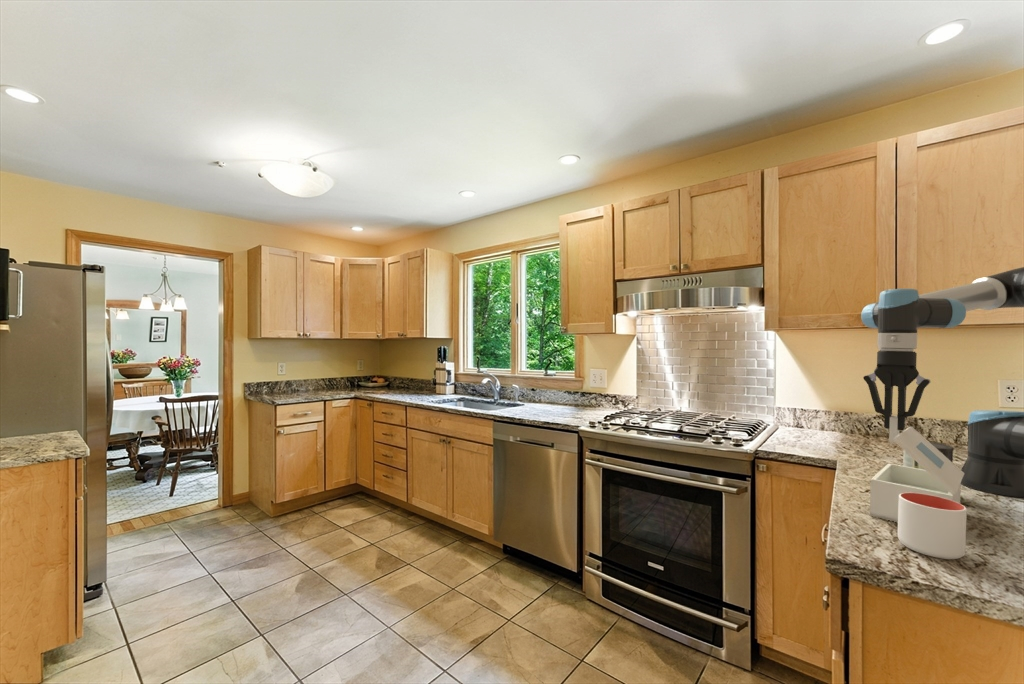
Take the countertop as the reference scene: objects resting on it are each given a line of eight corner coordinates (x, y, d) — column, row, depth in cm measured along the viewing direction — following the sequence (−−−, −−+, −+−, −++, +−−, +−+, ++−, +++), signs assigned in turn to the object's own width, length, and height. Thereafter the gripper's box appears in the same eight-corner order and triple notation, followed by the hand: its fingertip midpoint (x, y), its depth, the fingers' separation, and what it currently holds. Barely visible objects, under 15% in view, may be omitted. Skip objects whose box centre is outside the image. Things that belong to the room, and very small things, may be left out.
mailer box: (869, 515, 106) (870, 479, 105) (887, 495, 120) (888, 463, 120) (951, 536, 95) (952, 495, 95) (959, 511, 109) (961, 476, 109)
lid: (892, 439, 102) (896, 437, 102) (908, 427, 117) (911, 425, 116) (952, 494, 95) (956, 492, 94) (961, 474, 109) (964, 473, 109)
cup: (949, 566, 82) (951, 514, 82) (886, 542, 92) (888, 495, 91) (975, 556, 86) (976, 506, 86) (912, 535, 96) (914, 490, 95)
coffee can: (933, 489, 126) (935, 440, 126) (962, 502, 116) (964, 449, 116) (892, 486, 128) (894, 438, 128) (917, 498, 118) (919, 447, 118)
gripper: (860, 349, 113) (858, 439, 113) (929, 351, 103) (926, 450, 103) (867, 349, 118) (864, 435, 118) (934, 350, 108) (931, 445, 108)
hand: (893, 442), depth 111 cm, fingers closed
